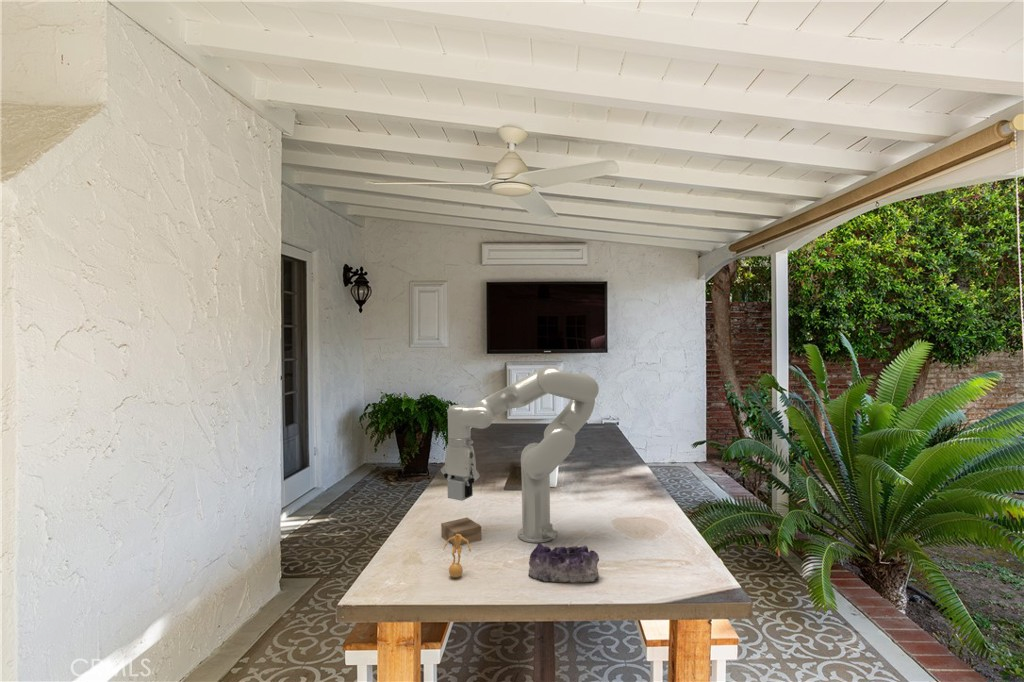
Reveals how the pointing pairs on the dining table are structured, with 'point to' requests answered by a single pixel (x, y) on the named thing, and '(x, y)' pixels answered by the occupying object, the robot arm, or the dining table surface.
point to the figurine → (456, 568)
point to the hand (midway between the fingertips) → (460, 494)
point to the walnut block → (461, 530)
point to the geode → (563, 564)
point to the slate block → (457, 488)
